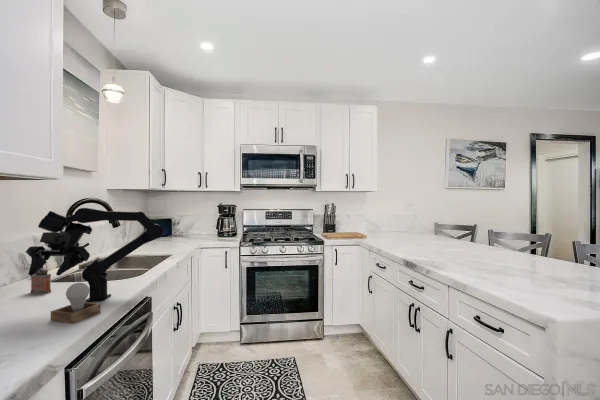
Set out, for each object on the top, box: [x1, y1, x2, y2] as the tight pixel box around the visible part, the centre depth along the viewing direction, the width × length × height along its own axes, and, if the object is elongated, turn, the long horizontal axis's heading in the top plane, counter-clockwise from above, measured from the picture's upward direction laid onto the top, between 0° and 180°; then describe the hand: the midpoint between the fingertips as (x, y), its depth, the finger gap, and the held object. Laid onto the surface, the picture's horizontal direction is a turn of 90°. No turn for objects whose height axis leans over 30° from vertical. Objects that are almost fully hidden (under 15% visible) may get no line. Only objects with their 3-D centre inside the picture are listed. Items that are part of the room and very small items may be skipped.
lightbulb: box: [65, 282, 89, 313], centre depth 94 cm, size 6×6×11 cm
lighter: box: [30, 267, 52, 295], centre depth 119 cm, size 8×3×10 cm, turn 84°
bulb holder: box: [50, 301, 102, 325], centre depth 94 cm, size 9×9×3 cm
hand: (43, 274), depth 95 cm, fingers open, 9 cm apart
